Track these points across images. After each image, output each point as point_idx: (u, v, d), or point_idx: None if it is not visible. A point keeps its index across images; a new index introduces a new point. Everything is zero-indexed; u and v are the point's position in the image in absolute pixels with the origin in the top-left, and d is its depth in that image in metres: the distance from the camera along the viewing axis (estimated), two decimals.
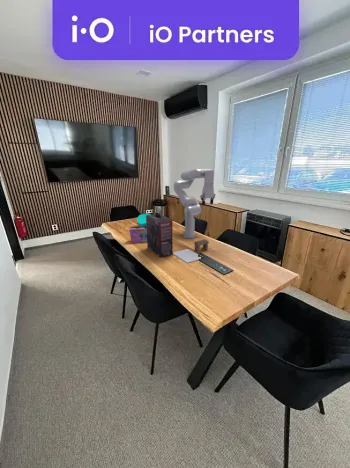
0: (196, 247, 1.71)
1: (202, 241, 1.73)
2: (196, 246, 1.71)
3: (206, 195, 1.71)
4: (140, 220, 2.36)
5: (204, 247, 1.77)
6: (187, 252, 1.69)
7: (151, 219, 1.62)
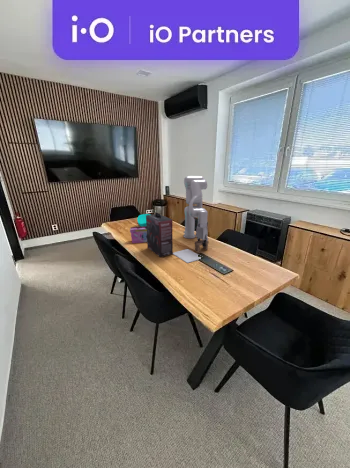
0: (196, 247, 1.71)
1: (202, 241, 1.72)
2: (196, 246, 1.71)
3: None
4: (140, 220, 2.36)
5: (204, 247, 1.77)
6: (187, 252, 1.69)
7: (151, 219, 1.62)
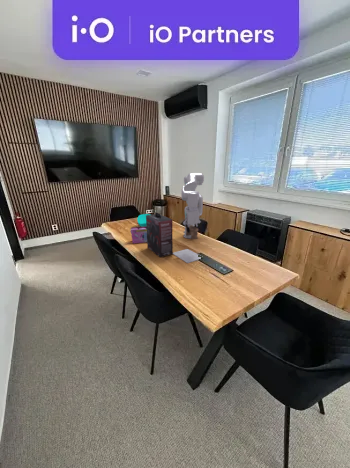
0: (194, 234, 1.56)
1: (192, 226, 1.60)
2: (194, 233, 1.55)
3: None
4: (140, 220, 2.36)
5: (189, 233, 1.64)
6: (187, 252, 1.69)
7: (151, 219, 1.62)
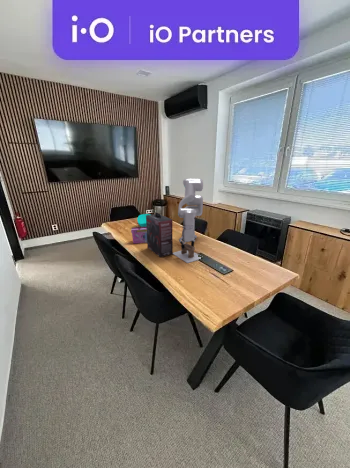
0: (191, 253, 1.58)
1: (188, 245, 1.62)
2: (191, 252, 1.58)
3: None
4: (140, 220, 2.36)
5: (184, 251, 1.66)
6: (187, 252, 1.69)
7: (151, 219, 1.62)
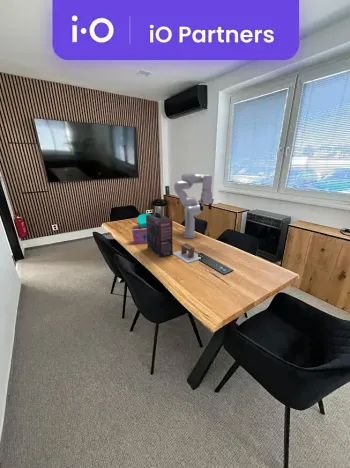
0: (191, 253, 1.58)
1: (188, 245, 1.62)
2: (191, 252, 1.58)
3: None
4: (140, 220, 2.36)
5: (184, 251, 1.66)
6: (187, 252, 1.69)
7: (151, 219, 1.62)
